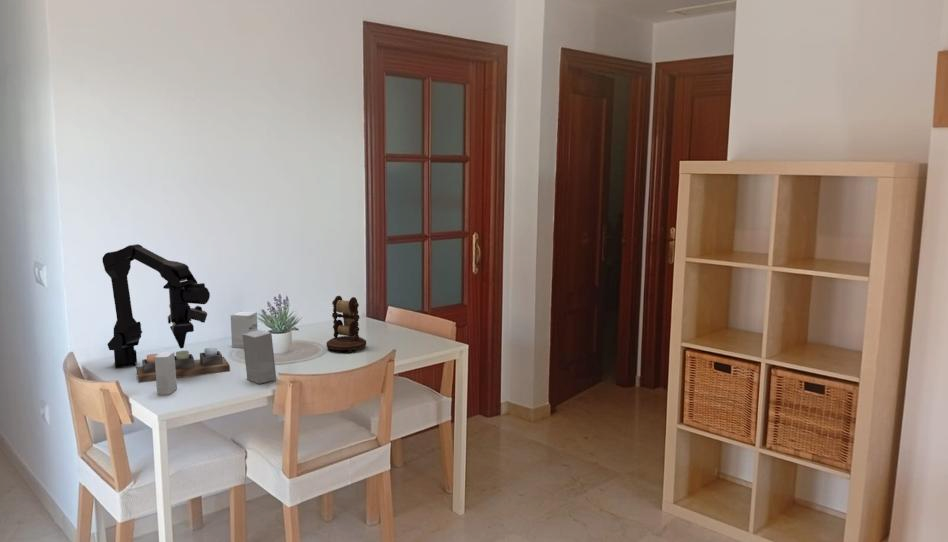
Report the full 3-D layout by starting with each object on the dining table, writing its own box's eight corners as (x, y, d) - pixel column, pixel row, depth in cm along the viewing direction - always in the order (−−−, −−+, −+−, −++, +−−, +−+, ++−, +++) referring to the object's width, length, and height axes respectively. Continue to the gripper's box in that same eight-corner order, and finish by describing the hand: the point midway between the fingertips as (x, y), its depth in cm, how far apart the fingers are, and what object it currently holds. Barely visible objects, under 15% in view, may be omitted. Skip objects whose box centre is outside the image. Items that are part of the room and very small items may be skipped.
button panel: (139, 382, 237) (138, 367, 237) (136, 372, 248) (135, 358, 247) (229, 370, 250) (229, 356, 249) (224, 362, 261) (223, 348, 260)
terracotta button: (147, 366, 242) (147, 357, 241) (146, 363, 245) (146, 354, 245) (160, 365, 244) (160, 356, 243) (159, 362, 247) (159, 353, 247)
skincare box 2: (276, 380, 240) (274, 332, 237) (256, 385, 235) (254, 336, 232) (263, 375, 246) (261, 328, 243) (243, 379, 241) (241, 332, 238)
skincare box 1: (163, 388, 231) (160, 351, 229) (177, 388, 232) (174, 351, 230) (156, 395, 225) (153, 356, 223) (171, 394, 226) (168, 356, 224)
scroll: (373, 346, 283) (372, 294, 279) (351, 355, 269) (350, 301, 266) (341, 342, 289) (340, 291, 286) (318, 351, 276) (316, 298, 272)
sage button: (177, 363, 246) (176, 354, 245) (175, 360, 249) (175, 351, 249) (189, 361, 248) (189, 352, 247) (188, 358, 251) (187, 350, 251)
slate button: (205, 359, 250) (205, 351, 249) (204, 356, 253) (203, 348, 253) (218, 358, 252) (217, 349, 251) (216, 355, 255) (215, 346, 255)
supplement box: (249, 348, 279) (247, 315, 277) (231, 347, 280) (229, 314, 278) (258, 343, 286) (257, 311, 284) (241, 342, 288) (239, 310, 286)
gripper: (208, 305, 241) (211, 351, 243) (200, 295, 257) (203, 339, 260) (172, 308, 236) (174, 355, 238) (166, 298, 252) (169, 342, 255)
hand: (181, 348), depth 248 cm, fingers closed
